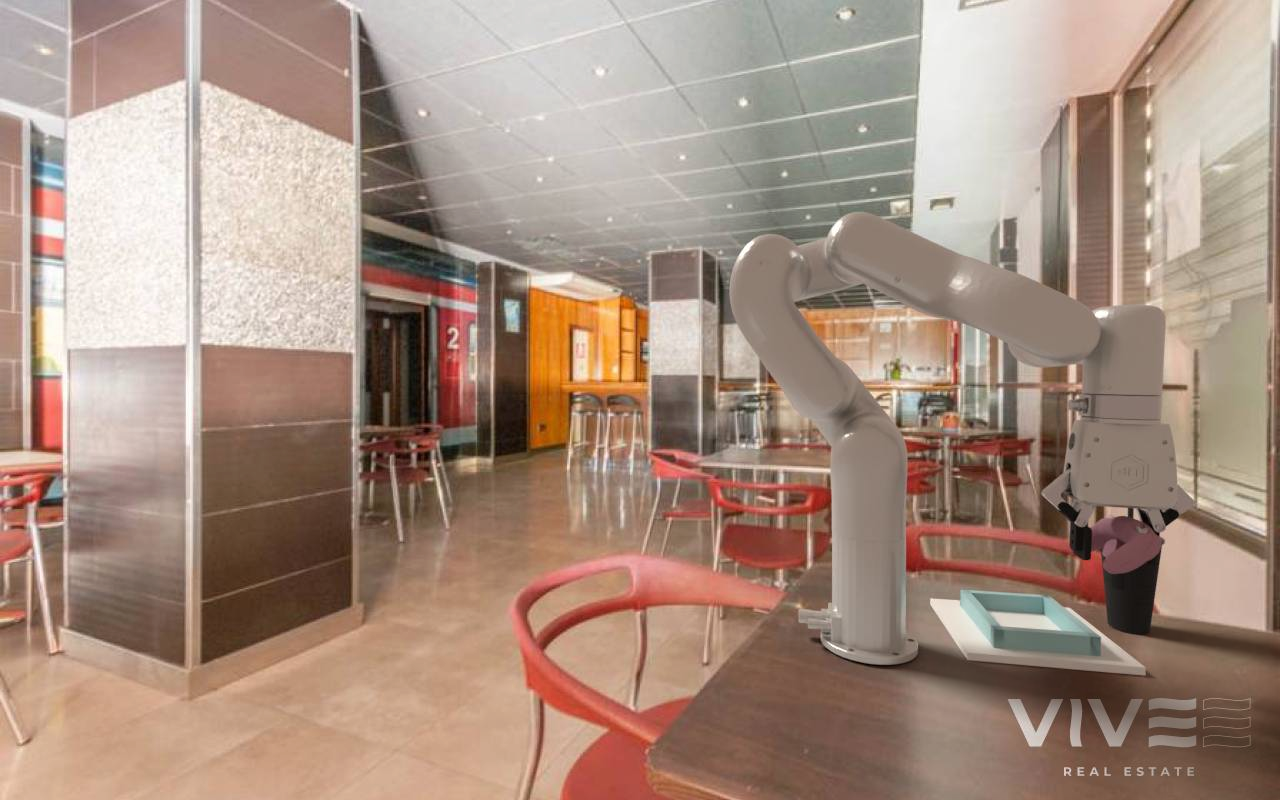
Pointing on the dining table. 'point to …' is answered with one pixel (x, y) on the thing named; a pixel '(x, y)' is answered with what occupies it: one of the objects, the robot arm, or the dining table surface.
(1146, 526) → the video game controller
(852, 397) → the robot arm
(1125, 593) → the drinking cup
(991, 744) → the dining table surface
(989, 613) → the dock
